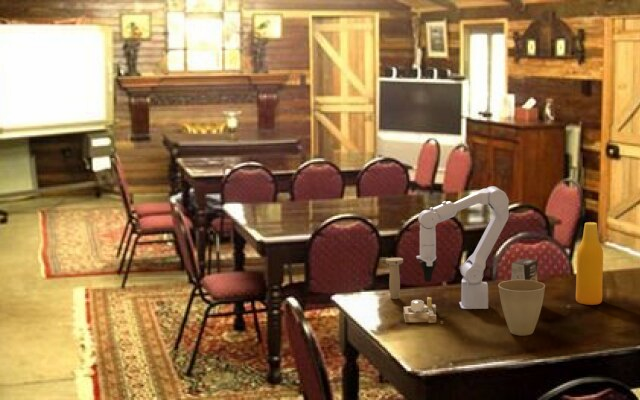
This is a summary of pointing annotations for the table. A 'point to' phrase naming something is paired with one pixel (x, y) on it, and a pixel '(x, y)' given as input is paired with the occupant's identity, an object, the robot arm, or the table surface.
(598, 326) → the table surface
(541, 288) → the plant pot
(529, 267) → the coffee box
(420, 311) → the silver metal cylinder
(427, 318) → the dock
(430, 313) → the pin
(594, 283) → the beer bottle
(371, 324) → the table surface
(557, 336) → the table surface
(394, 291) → the handle
